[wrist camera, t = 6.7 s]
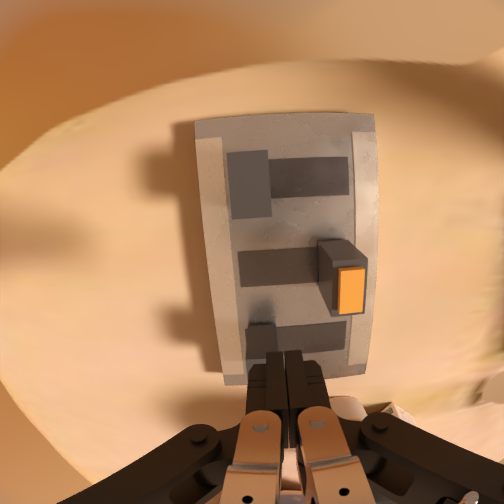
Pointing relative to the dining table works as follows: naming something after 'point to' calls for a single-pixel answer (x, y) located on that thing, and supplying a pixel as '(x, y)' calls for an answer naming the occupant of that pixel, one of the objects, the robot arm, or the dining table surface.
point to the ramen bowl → (291, 497)
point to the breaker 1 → (249, 184)
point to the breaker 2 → (260, 344)
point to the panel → (290, 234)
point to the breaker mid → (342, 277)
